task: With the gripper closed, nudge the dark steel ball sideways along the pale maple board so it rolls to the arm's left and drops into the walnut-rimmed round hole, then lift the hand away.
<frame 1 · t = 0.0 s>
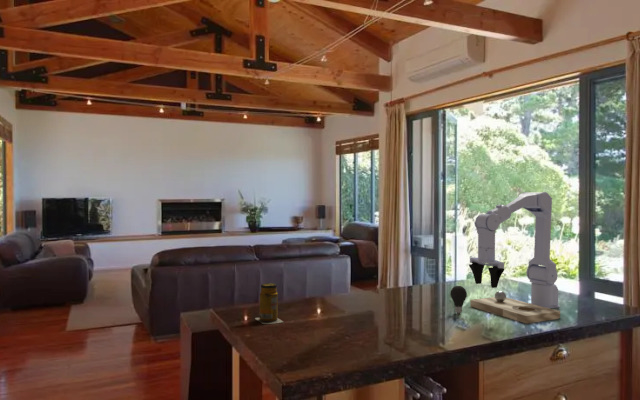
hand: (486, 285, 164), 10 cm above the counter, fingers open, 7 cm apart
deck: (513, 312, 167), on the counter
ball: (500, 296, 172), point 4 cm above the counter, touching deck
light bulb: (458, 314, 164), on the counter
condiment: (268, 321, 153), on the counter
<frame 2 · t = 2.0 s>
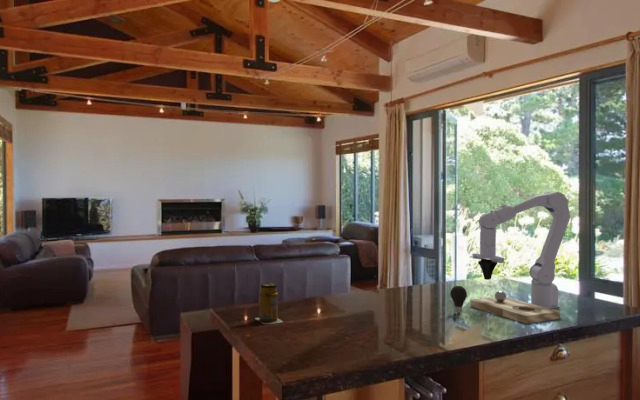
hand: (487, 279, 178), 10 cm above the counter, fingers closed
nothing on the counter moved.
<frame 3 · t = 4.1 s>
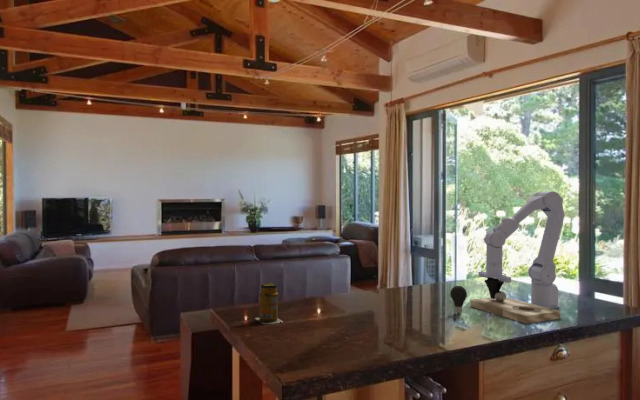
hand: (494, 298, 175), 3 cm above the counter, fingers closed
ball: (500, 296, 172), point 4 cm above the counter, touching deck, gripper
everything else where it was.
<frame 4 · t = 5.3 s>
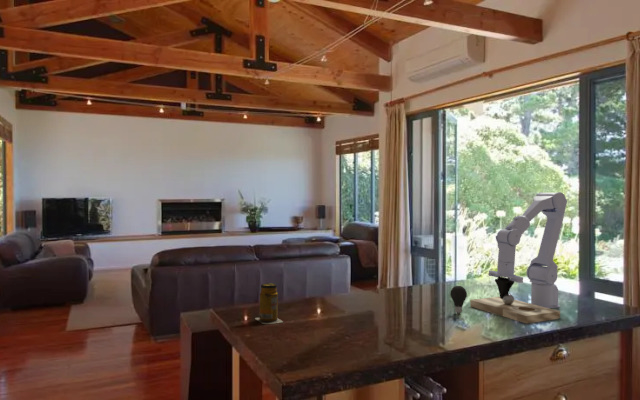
hand: (503, 298, 169), 4 cm above the counter, fingers closed, pressing on ball
ball: (508, 299, 168), point 4 cm above the counter, tilted 130°, touching deck, gripper
everything else where it was.
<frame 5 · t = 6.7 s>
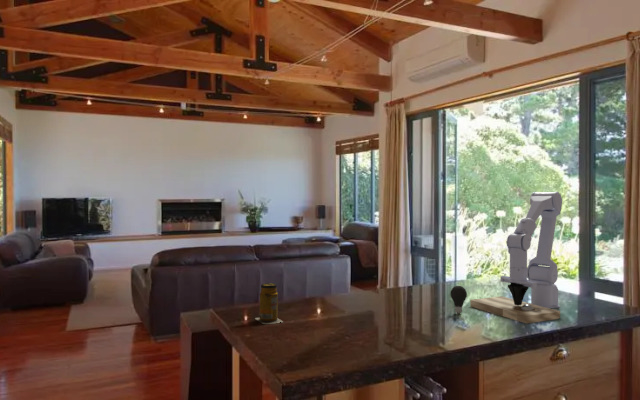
hand: (517, 304, 165), 3 cm above the counter, fingers closed
ball: (527, 310, 162), point 2 cm above the counter, tilted 85°
everything else where it was.
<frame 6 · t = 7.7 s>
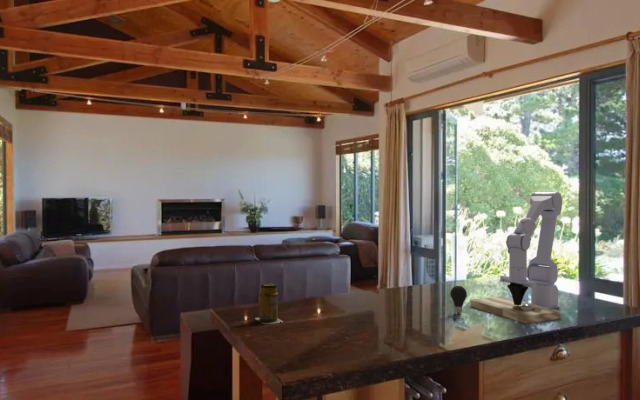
hand: (517, 304, 165), 3 cm above the counter, fingers closed
nothing on the counter moved.
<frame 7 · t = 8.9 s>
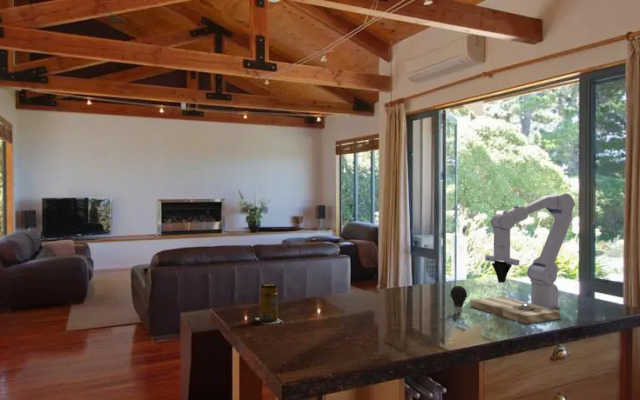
hand: (501, 282, 172), 10 cm above the counter, fingers closed
nothing on the counter moved.
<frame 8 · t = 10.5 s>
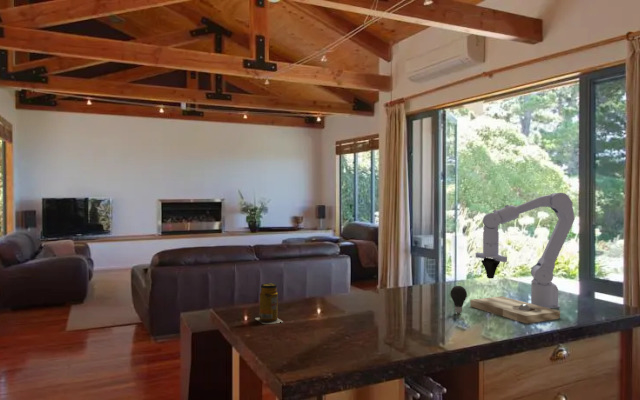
hand: (490, 278, 181), 10 cm above the counter, fingers closed
nothing on the counter moved.
at the end: ball 0.7 cm from the target spot in the deck, point 2.0 cm above the deck's base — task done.
